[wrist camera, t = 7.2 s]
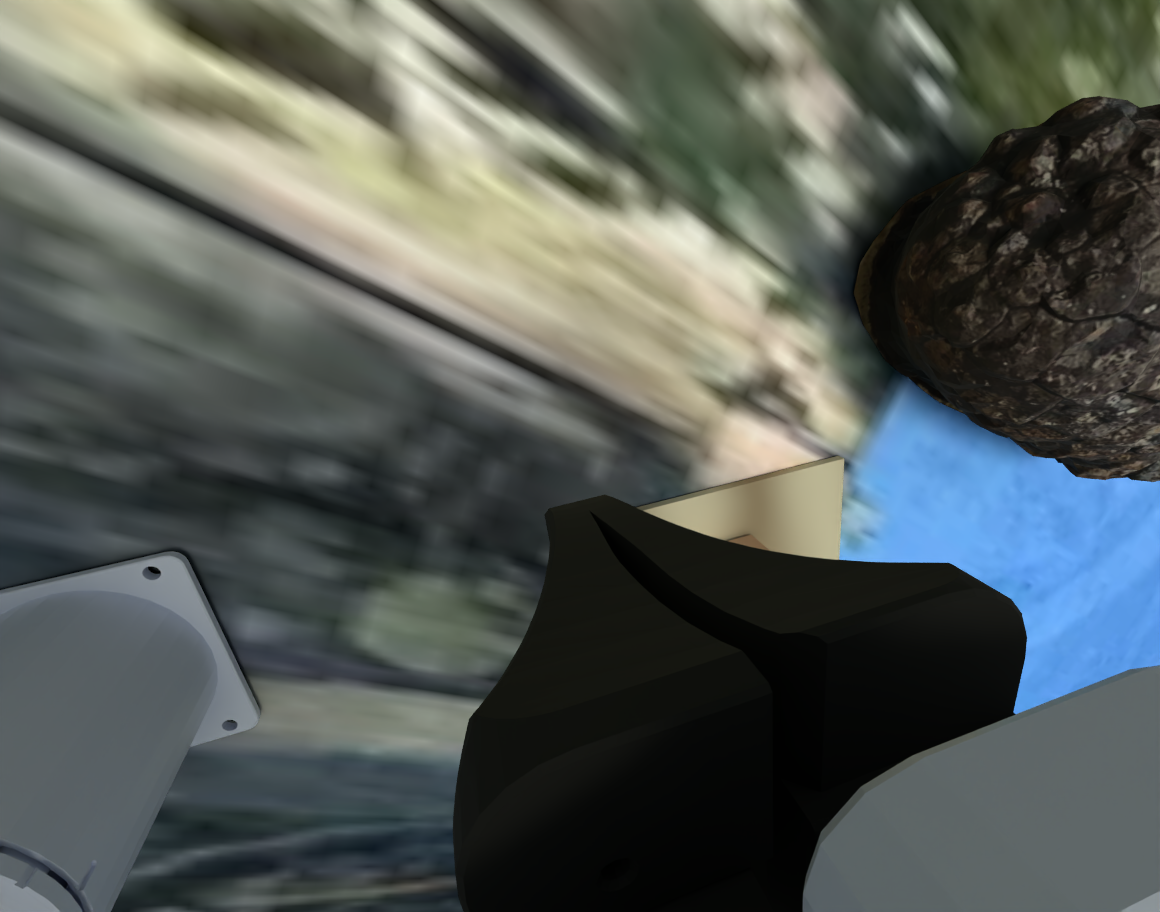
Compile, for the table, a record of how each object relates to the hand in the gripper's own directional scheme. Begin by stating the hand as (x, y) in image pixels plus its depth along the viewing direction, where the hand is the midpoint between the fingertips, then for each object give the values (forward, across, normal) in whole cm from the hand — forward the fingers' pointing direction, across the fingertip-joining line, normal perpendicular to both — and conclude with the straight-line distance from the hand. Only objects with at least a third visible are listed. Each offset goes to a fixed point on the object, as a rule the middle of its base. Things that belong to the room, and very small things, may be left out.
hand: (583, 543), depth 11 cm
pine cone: (+10, -22, 0) cm, 24 cm away
